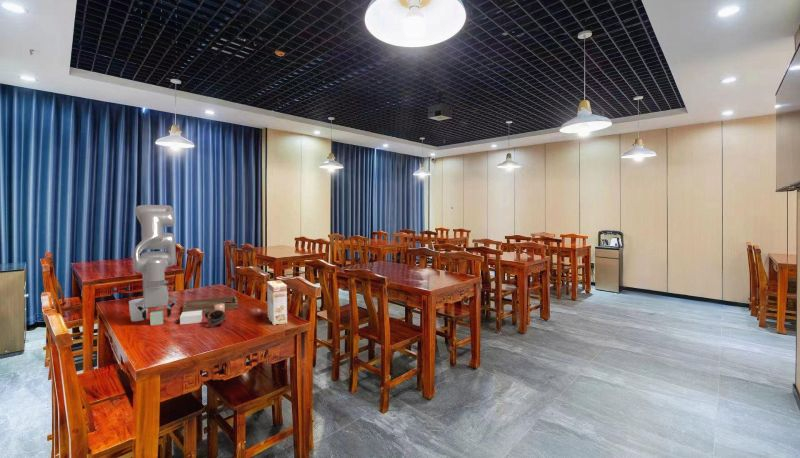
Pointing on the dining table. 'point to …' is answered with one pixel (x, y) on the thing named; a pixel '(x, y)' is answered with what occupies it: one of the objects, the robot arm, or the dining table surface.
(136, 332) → the dining table surface
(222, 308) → the glossy beige egg
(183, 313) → the base slab
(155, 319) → the green block
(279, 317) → the coffeecake box
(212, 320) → the pottery mug
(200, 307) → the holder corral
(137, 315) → the white cup
